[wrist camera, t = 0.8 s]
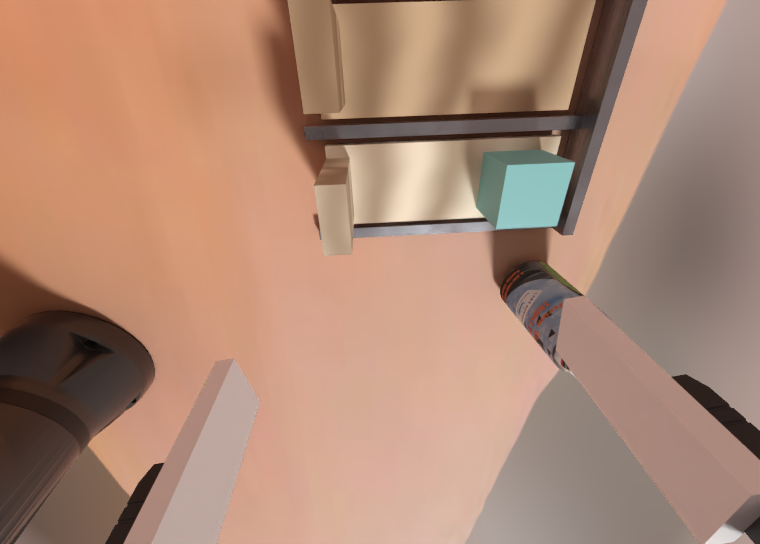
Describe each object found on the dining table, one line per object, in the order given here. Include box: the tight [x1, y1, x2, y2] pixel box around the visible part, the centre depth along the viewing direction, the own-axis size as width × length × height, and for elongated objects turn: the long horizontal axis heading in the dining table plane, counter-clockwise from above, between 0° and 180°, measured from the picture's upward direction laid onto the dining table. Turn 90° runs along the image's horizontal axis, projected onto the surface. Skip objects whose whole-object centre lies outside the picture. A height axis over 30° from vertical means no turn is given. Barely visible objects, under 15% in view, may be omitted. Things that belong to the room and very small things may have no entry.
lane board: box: [304, 0, 648, 240], centre depth 25 cm, size 24×19×3 cm
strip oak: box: [287, 0, 596, 120], centre depth 20 cm, size 20×7×9 cm, turn 92°
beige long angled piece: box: [314, 135, 561, 256], centre depth 25 cm, size 20×7×9 cm, turn 92°
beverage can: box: [500, 261, 620, 377], centre depth 30 cm, size 6×7×12 cm
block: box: [476, 150, 575, 229], centre depth 26 cm, size 5×5×5 cm
